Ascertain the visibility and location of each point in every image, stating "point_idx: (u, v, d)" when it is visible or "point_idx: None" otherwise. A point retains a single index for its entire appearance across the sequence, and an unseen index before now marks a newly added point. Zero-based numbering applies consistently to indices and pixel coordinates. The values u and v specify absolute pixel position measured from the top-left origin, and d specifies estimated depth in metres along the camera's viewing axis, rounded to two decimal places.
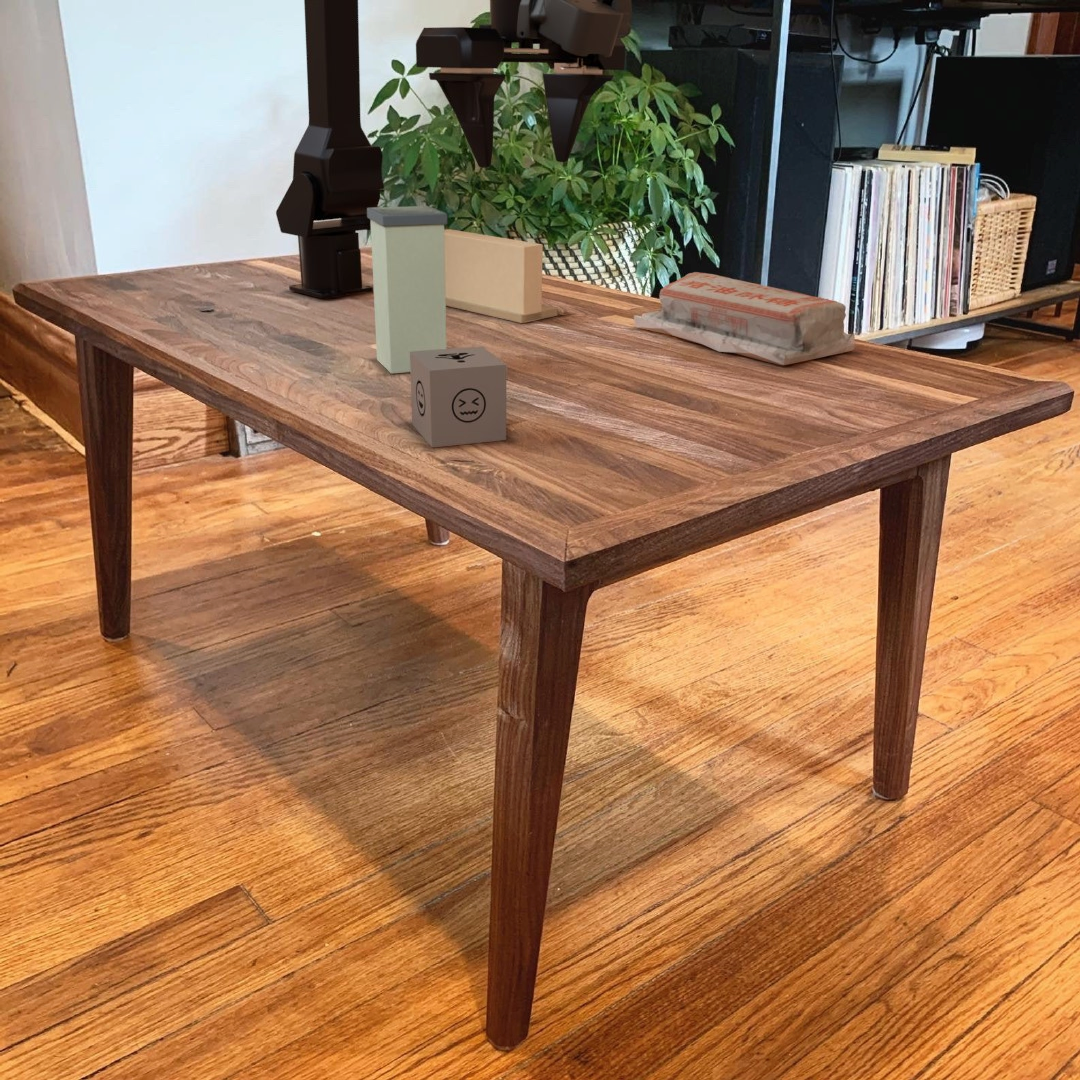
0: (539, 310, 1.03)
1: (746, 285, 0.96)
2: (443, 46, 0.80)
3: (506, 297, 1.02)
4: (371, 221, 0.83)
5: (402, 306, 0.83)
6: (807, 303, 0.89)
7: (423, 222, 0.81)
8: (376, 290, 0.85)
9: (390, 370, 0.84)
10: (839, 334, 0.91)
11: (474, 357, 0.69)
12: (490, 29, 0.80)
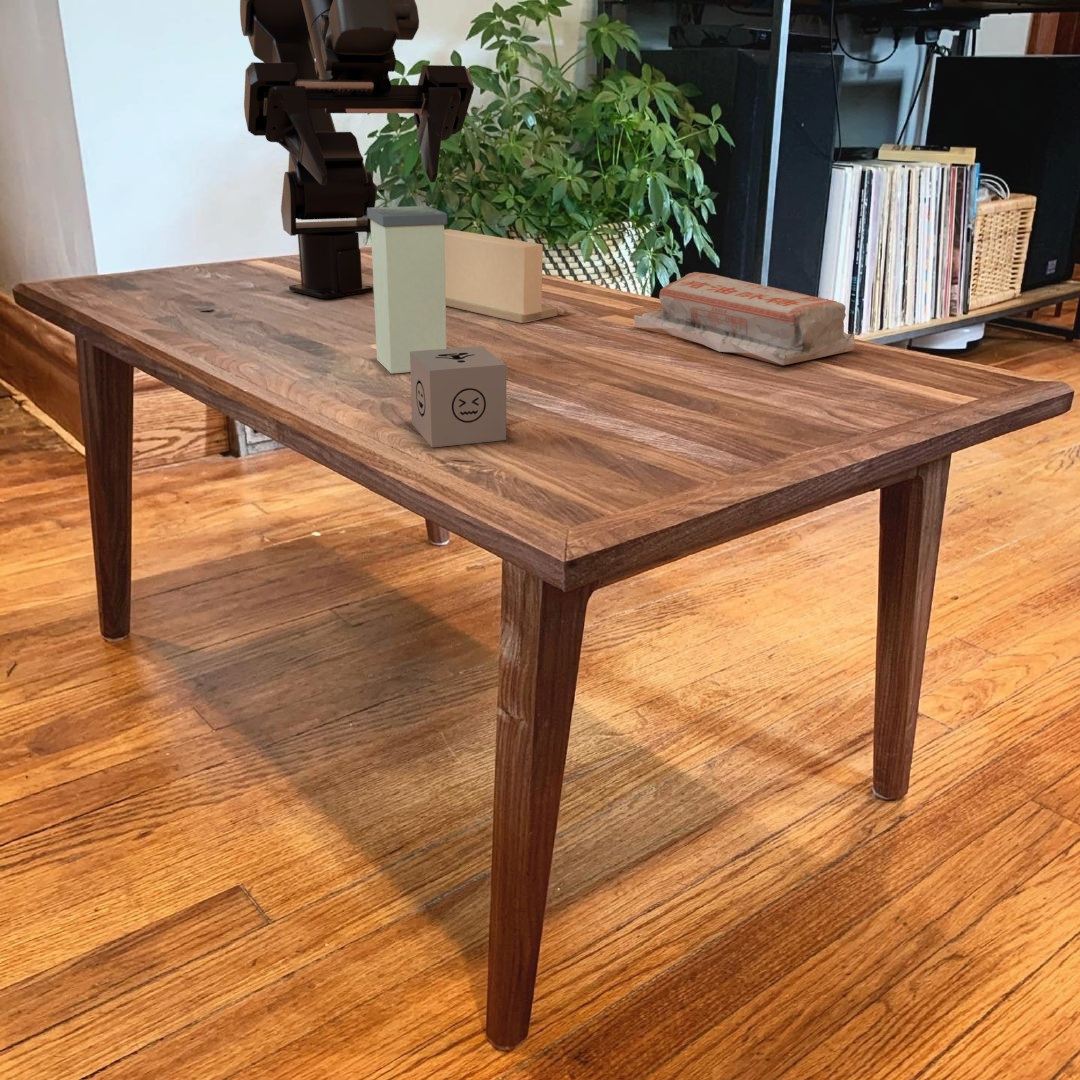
0: (539, 310, 1.03)
1: (746, 285, 0.96)
2: (246, 89, 0.87)
3: (506, 297, 1.02)
4: (371, 221, 0.83)
5: (402, 306, 0.83)
6: (807, 303, 0.89)
7: (423, 222, 0.81)
8: (376, 290, 0.85)
9: (390, 370, 0.84)
10: (839, 334, 0.91)
11: (474, 357, 0.69)
12: None
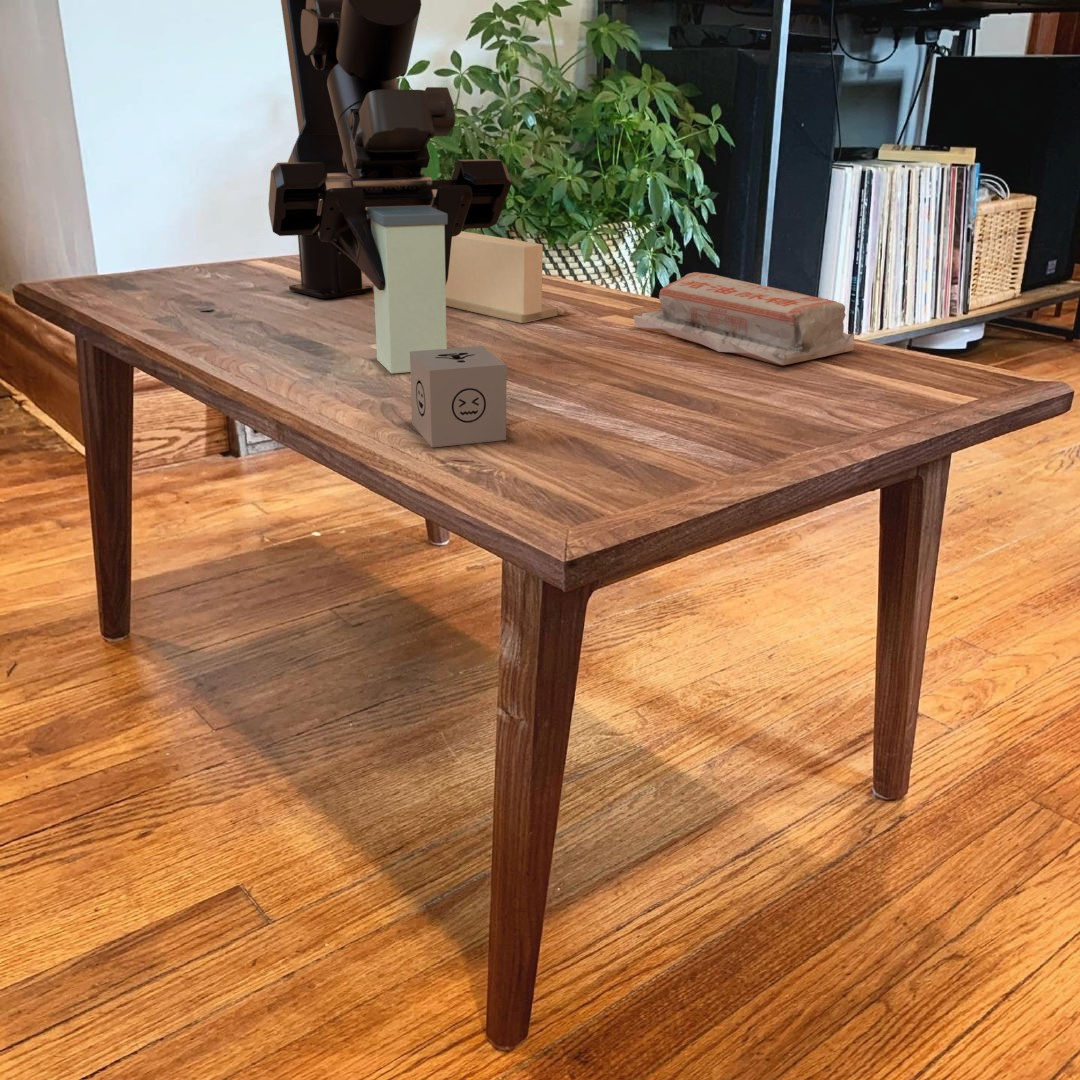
0: (539, 310, 1.03)
1: (746, 285, 0.96)
2: (271, 190, 0.82)
3: (506, 297, 1.02)
4: (371, 221, 0.83)
5: (402, 306, 0.83)
6: (806, 303, 0.89)
7: (423, 222, 0.81)
8: (376, 290, 0.85)
9: (390, 370, 0.84)
10: (838, 334, 0.91)
11: (474, 357, 0.69)
12: (313, 162, 0.82)
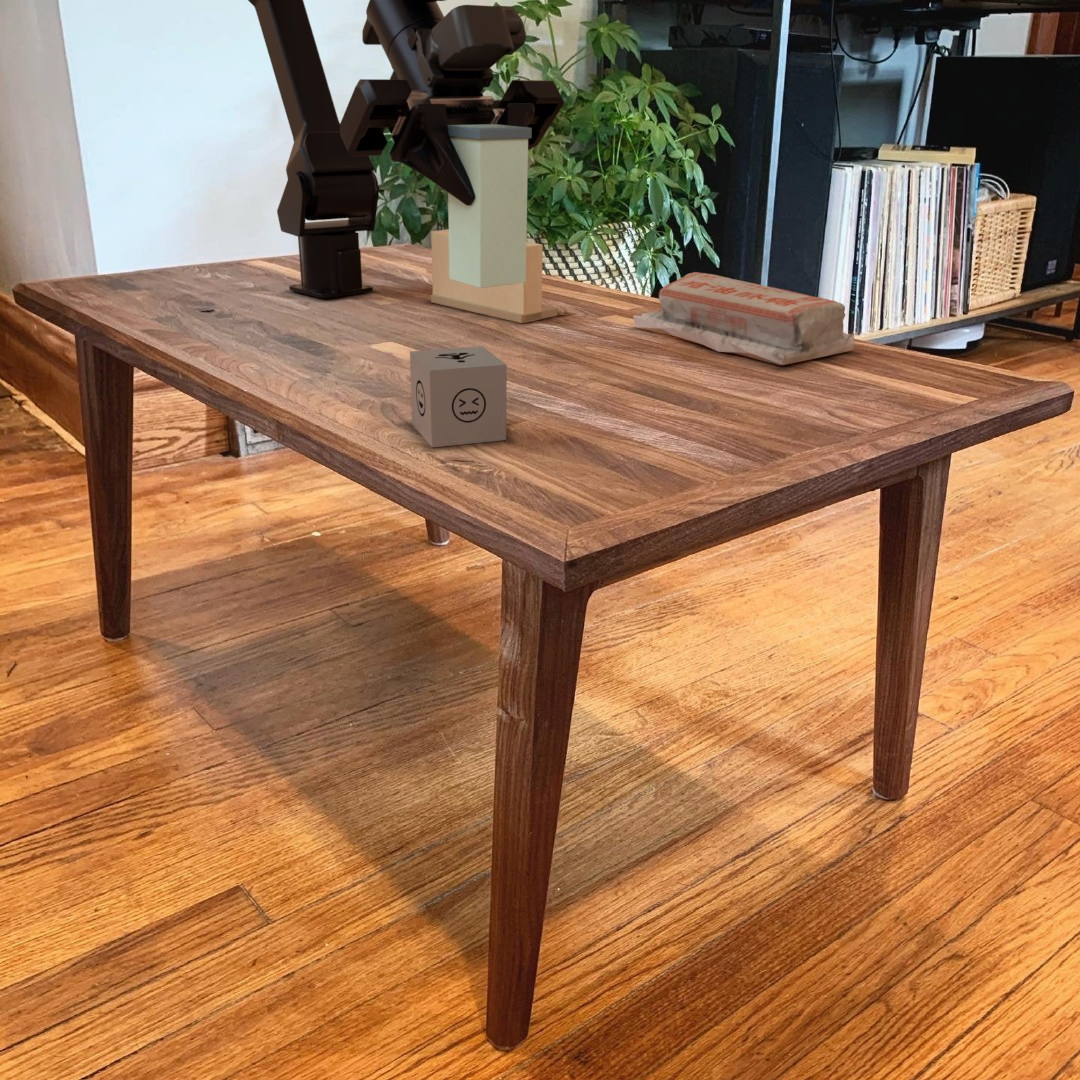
0: (539, 310, 1.03)
1: (745, 285, 0.96)
2: (353, 107, 0.82)
3: (506, 297, 1.02)
4: None
5: (491, 220, 0.85)
6: (806, 303, 0.89)
7: (512, 136, 0.83)
8: (454, 207, 0.87)
9: (479, 285, 0.86)
10: (838, 334, 0.91)
11: (474, 357, 0.69)
12: (391, 79, 0.83)
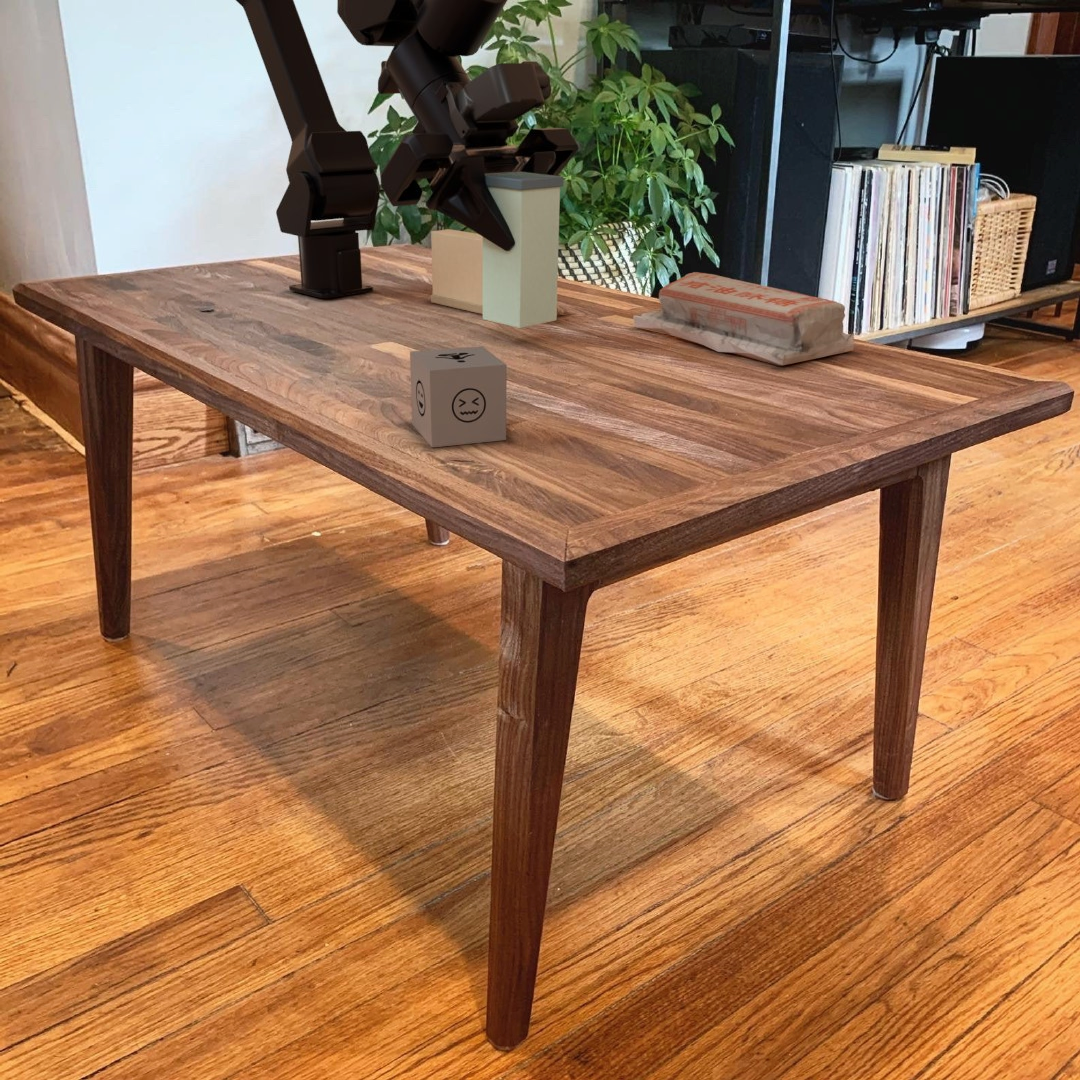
0: None
1: (745, 285, 0.95)
2: (398, 161, 0.85)
3: None
4: None
5: (529, 264, 0.90)
6: (806, 303, 0.89)
7: (547, 185, 0.88)
8: (490, 252, 0.91)
9: (518, 325, 0.91)
10: (838, 334, 0.91)
11: (474, 357, 0.69)
12: (431, 133, 0.86)
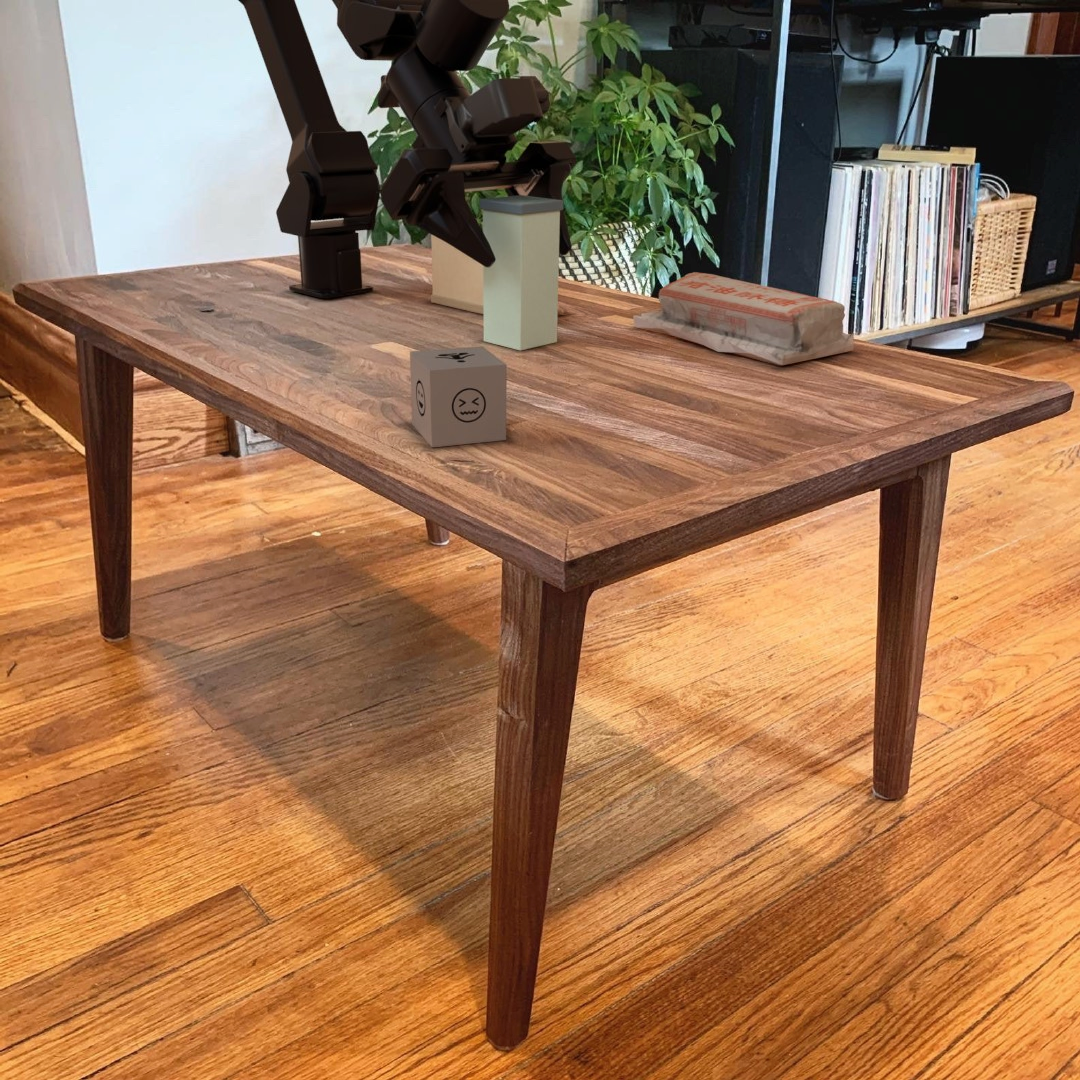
0: None
1: (745, 285, 0.95)
2: (398, 176, 0.86)
3: None
4: (485, 211, 0.90)
5: (530, 287, 0.90)
6: (806, 303, 0.89)
7: (547, 209, 0.89)
8: (490, 275, 0.92)
9: (519, 347, 0.92)
10: (838, 334, 0.91)
11: (474, 357, 0.69)
12: None
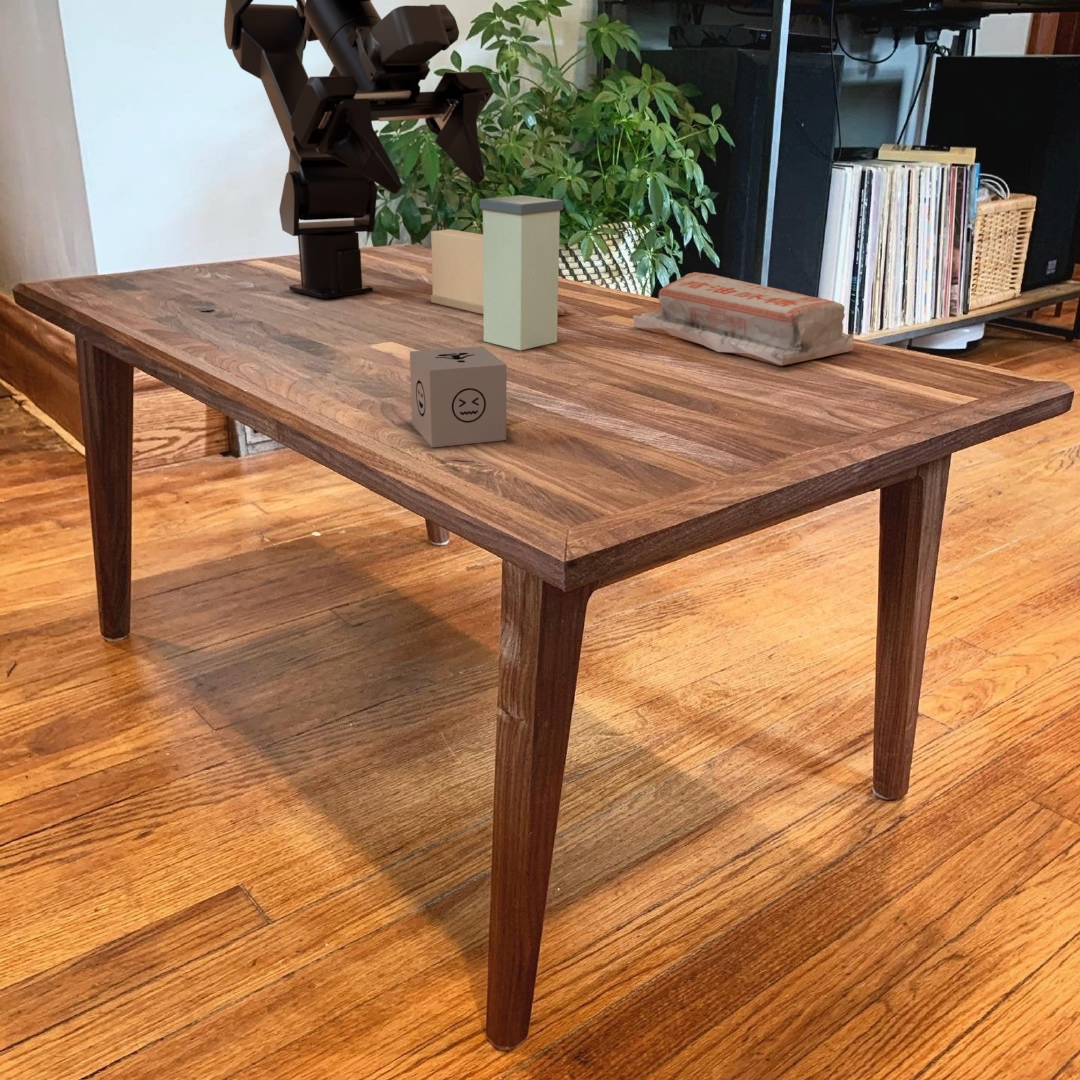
0: None
1: (745, 285, 0.95)
2: (305, 103, 0.88)
3: None
4: (485, 211, 0.90)
5: (530, 287, 0.90)
6: (806, 303, 0.89)
7: (547, 209, 0.89)
8: (490, 275, 0.92)
9: (519, 347, 0.92)
10: (838, 334, 0.91)
11: (474, 357, 0.69)
12: None
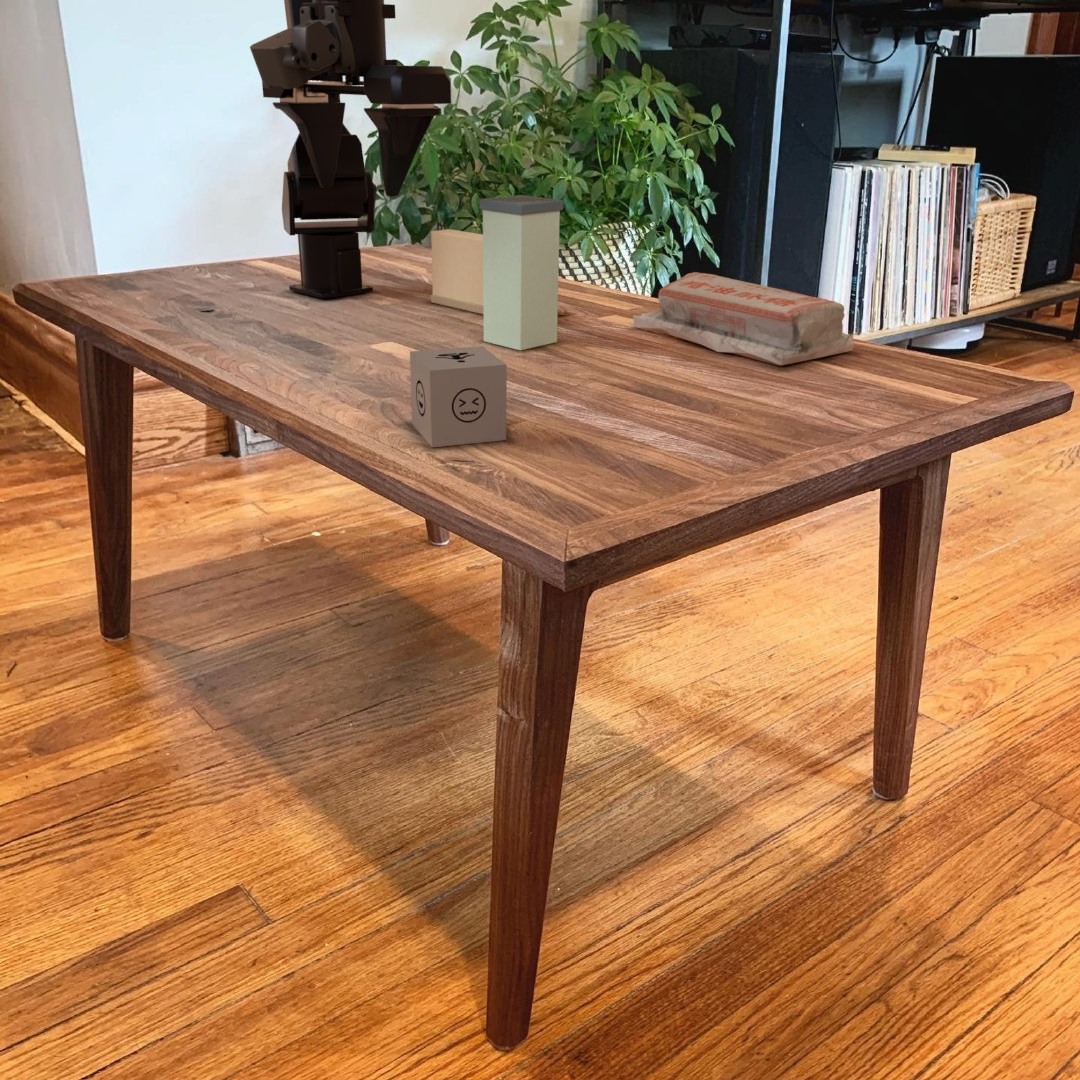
0: None
1: (745, 285, 0.95)
2: None
3: None
4: (485, 211, 0.90)
5: (530, 287, 0.90)
6: (805, 303, 0.89)
7: (547, 209, 0.89)
8: (490, 275, 0.92)
9: (519, 347, 0.92)
10: (837, 334, 0.91)
11: (474, 357, 0.69)
12: None
